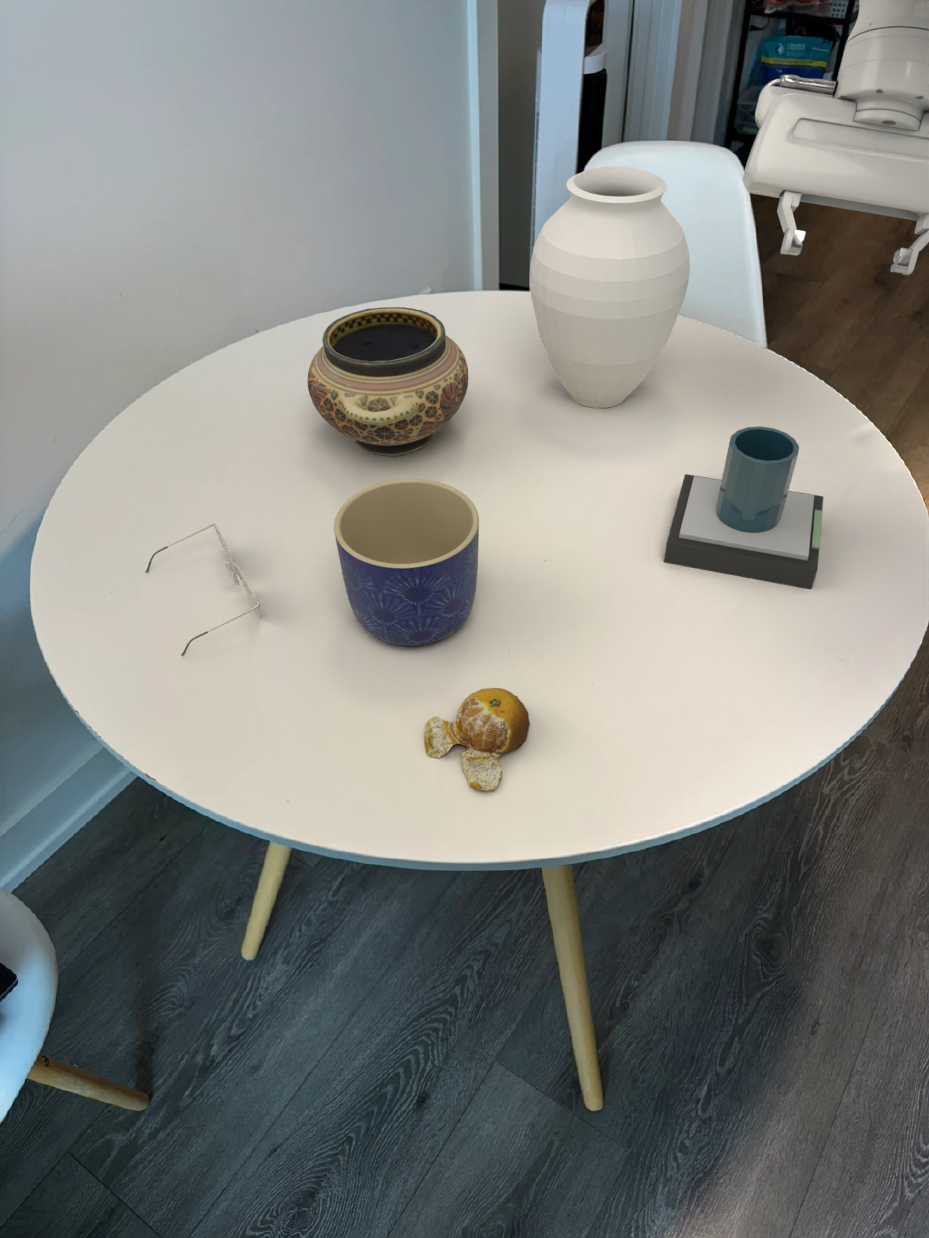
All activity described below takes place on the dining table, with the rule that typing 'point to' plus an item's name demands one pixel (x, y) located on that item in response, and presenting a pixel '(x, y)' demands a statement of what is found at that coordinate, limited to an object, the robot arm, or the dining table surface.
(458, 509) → the planter
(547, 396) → the dining table surface
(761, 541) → the scale
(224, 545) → the eyeglasses
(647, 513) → the dining table surface
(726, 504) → the cup
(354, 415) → the ceramic bowl
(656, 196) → the vase
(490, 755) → the fruit
